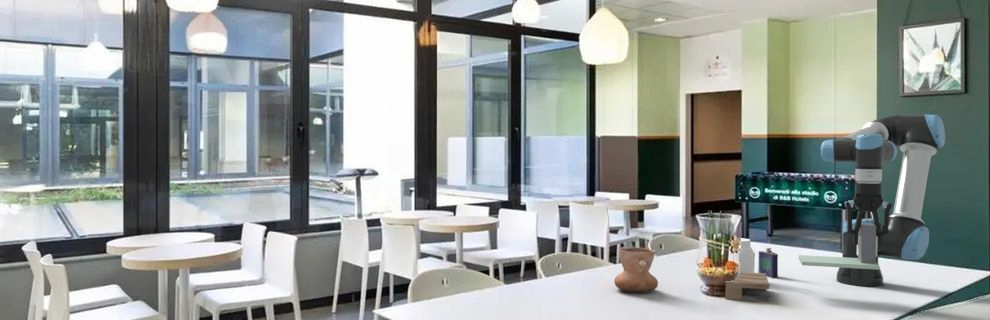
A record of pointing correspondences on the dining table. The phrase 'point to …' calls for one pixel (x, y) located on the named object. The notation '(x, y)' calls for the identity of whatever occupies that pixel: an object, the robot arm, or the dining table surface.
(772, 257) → the flask
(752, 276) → the dock
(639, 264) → the ceramic jug
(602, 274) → the dining table surface
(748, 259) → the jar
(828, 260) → the green platform with post
